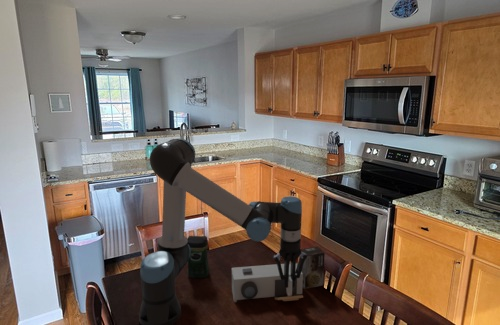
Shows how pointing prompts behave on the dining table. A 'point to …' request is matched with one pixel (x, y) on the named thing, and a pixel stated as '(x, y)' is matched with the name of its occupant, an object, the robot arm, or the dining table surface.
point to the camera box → (261, 282)
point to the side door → (289, 298)
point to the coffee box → (313, 267)
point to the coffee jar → (198, 257)
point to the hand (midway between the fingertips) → (289, 293)
